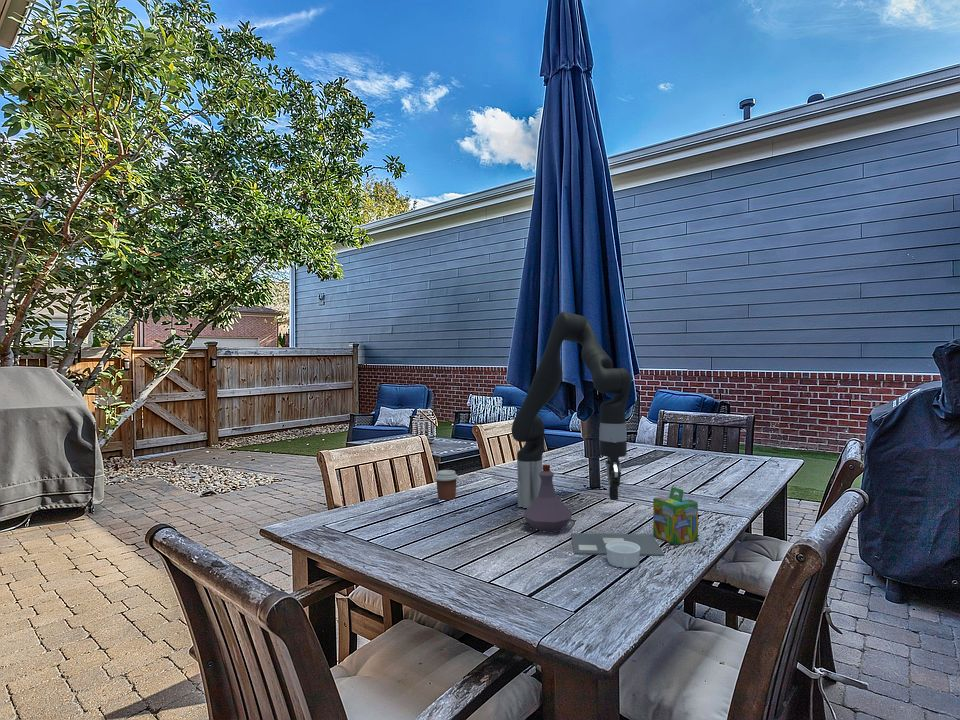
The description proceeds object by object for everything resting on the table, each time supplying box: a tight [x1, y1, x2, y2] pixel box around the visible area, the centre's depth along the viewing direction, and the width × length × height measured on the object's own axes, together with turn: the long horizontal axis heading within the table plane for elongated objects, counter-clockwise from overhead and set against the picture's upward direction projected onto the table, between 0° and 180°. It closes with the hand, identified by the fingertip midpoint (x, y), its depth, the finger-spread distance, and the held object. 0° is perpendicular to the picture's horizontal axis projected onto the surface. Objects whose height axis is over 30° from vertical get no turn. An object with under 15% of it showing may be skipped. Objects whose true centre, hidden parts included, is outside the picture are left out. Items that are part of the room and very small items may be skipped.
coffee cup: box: [433, 469, 459, 501], centre depth 194 cm, size 9×9×12 cm
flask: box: [522, 464, 573, 533], centre depth 162 cm, size 16×16×20 cm
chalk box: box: [652, 486, 699, 546], centre depth 150 cm, size 9×9×15 cm
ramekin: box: [605, 541, 640, 569], centre depth 133 cm, size 9×9×4 cm
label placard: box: [570, 532, 666, 557], centre depth 146 cm, size 24×16×1 cm, turn 83°
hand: (613, 499), depth 144 cm, fingers closed
